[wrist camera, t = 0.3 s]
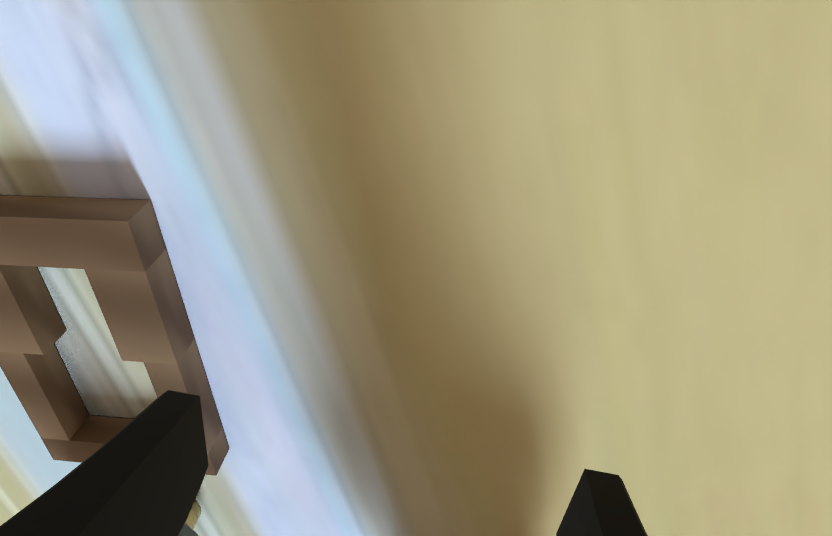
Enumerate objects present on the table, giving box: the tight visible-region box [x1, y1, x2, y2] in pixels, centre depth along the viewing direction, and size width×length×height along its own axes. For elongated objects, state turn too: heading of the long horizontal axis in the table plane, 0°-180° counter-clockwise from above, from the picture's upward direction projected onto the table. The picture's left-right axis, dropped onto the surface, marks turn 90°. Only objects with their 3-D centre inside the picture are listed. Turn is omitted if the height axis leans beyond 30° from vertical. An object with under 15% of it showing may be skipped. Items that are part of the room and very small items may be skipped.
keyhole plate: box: [0, 195, 229, 475], centre depth 24 cm, size 13×8×2 cm, turn 2°
